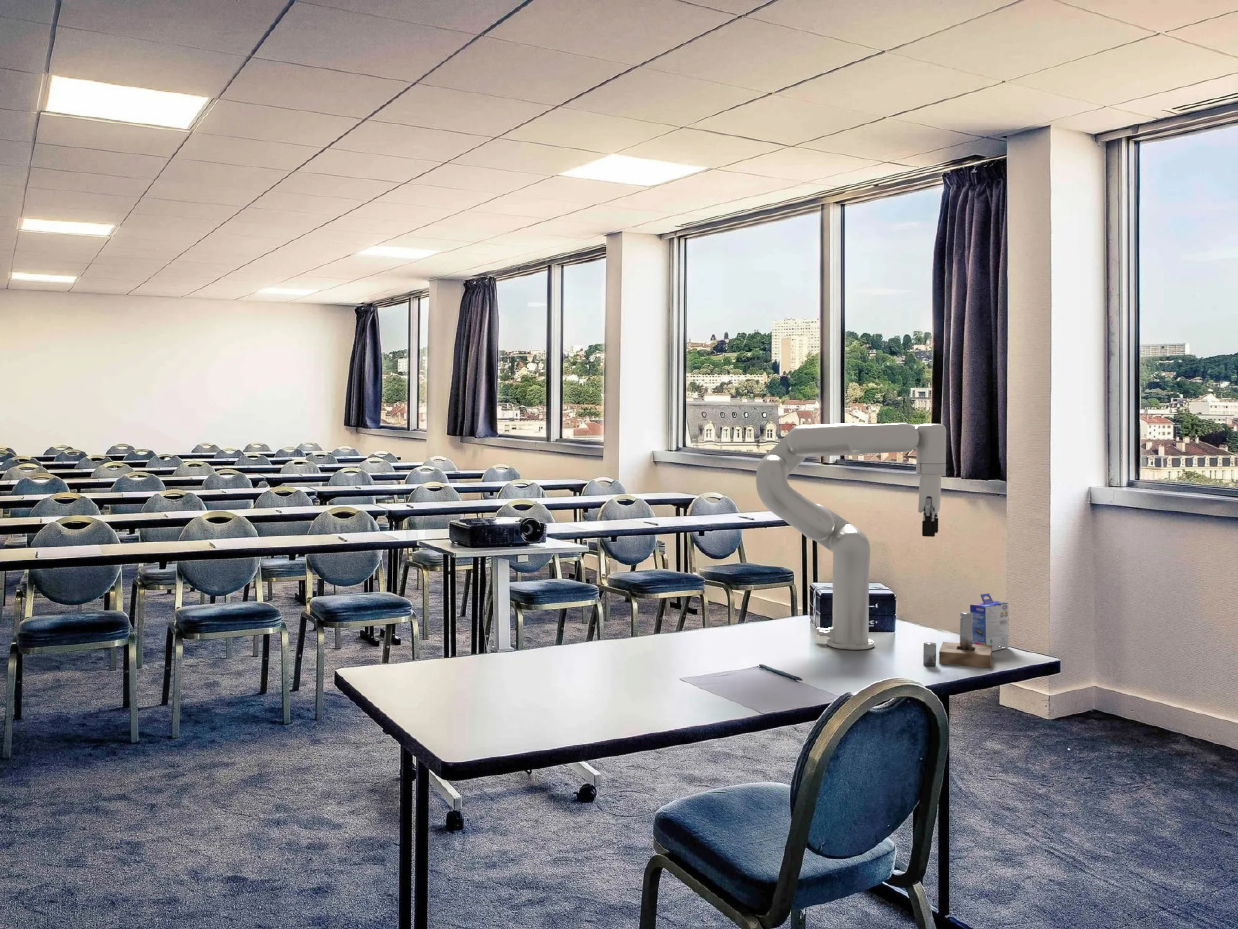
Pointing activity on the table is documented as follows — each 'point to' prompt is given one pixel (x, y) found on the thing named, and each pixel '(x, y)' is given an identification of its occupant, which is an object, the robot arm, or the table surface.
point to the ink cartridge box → (990, 623)
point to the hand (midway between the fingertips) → (930, 534)
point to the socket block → (965, 655)
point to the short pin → (929, 654)
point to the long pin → (966, 630)
